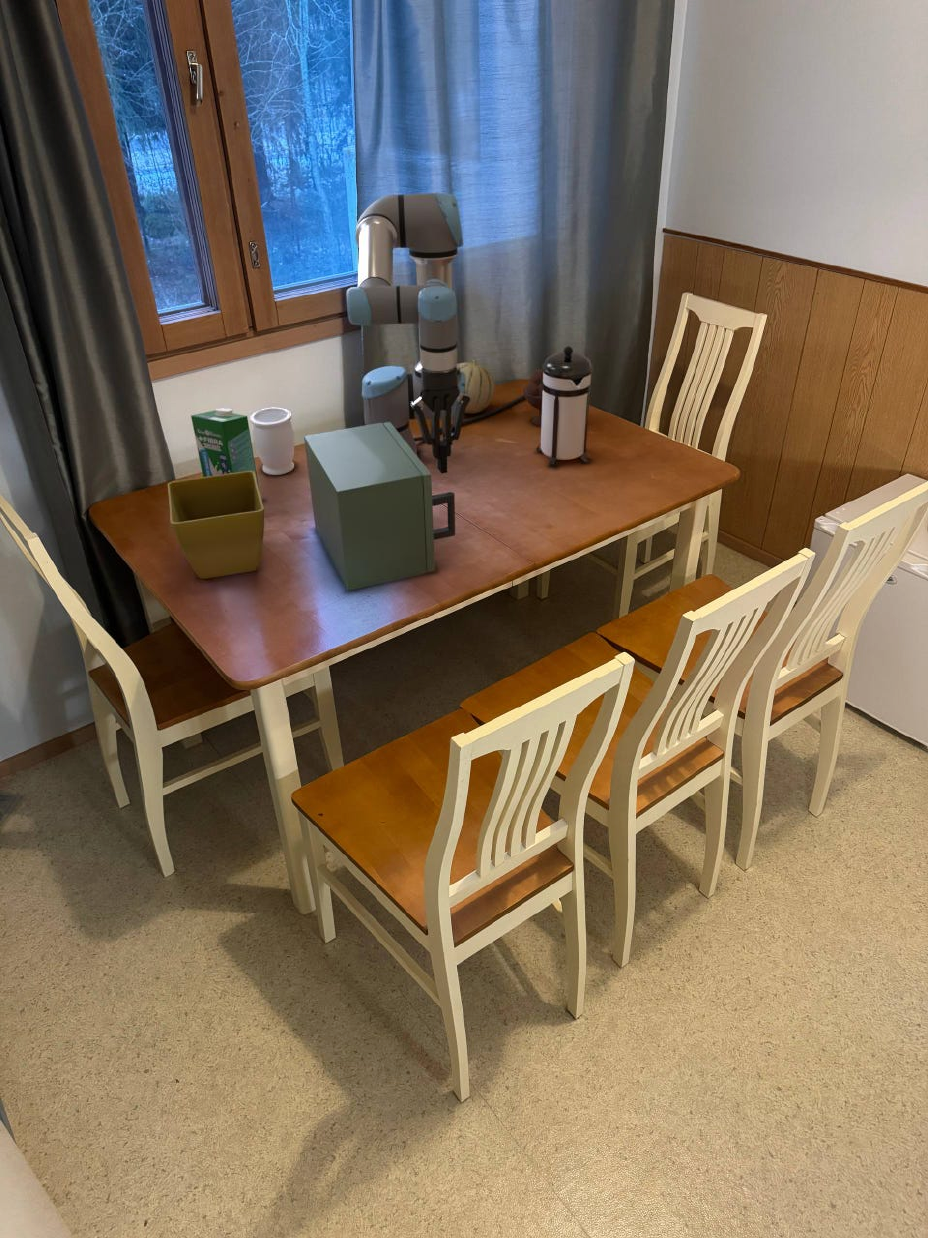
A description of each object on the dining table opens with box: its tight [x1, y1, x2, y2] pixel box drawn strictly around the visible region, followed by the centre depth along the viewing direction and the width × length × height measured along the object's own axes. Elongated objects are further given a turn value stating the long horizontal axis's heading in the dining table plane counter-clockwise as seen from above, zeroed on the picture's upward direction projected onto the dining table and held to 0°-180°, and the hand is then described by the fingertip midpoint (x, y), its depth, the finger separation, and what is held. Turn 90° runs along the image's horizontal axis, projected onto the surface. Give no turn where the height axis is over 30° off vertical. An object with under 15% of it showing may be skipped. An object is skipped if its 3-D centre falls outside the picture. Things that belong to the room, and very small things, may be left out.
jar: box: [249, 407, 295, 476], centre depth 241 cm, size 11×10×15 cm
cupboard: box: [303, 423, 428, 592], centre depth 204 cm, size 18×28×24 cm, turn 21°
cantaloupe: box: [458, 358, 496, 415], centre depth 269 cm, size 15×15×15 cm
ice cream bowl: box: [522, 368, 543, 427], centre depth 262 cm, size 11×11×15 cm
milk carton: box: [190, 407, 261, 493], centre depth 222 cm, size 9×9×25 cm
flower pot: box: [167, 471, 265, 580], centre depth 204 cm, size 19×19×17 cm
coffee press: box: [536, 346, 594, 468], centre depth 241 cm, size 17×16×30 cm
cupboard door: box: [383, 422, 456, 573], centre depth 208 cm, size 8×28×24 cm, turn 21°
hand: (442, 470), depth 204 cm, fingers closed
